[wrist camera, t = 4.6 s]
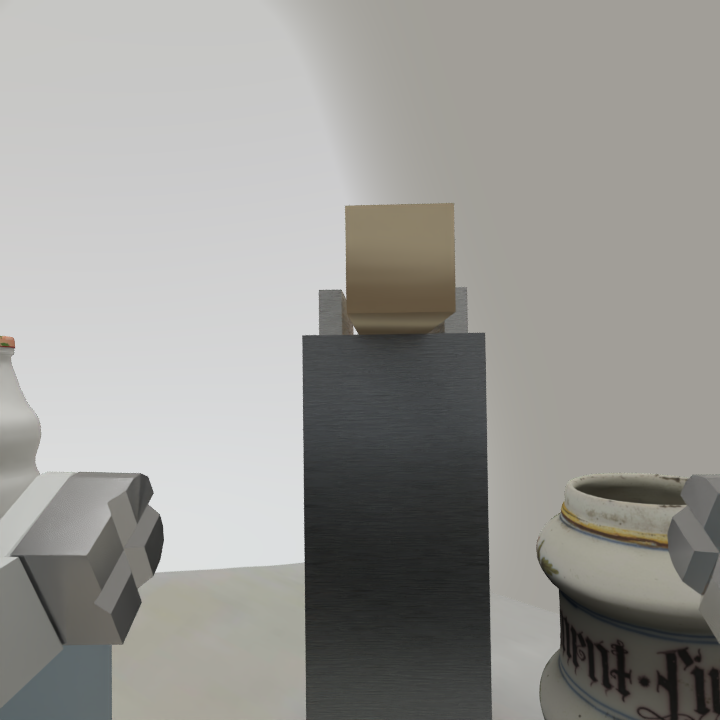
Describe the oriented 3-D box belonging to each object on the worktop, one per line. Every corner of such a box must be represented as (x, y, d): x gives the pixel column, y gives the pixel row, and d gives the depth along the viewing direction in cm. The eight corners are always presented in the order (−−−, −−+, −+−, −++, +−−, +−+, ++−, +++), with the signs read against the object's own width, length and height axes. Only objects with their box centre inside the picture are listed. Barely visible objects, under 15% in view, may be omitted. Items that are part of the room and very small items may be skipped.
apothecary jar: (502, 759, 33) (497, 470, 33) (664, 727, 36) (657, 460, 36) (650, 975, 21) (639, 524, 21) (874, 902, 24) (861, 504, 24)
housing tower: (495, 942, 22) (484, 287, 23) (308, 938, 23) (302, 290, 23) (455, 742, 34) (448, 315, 35) (333, 741, 35) (328, 317, 35)
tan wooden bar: (455, 311, 14) (454, 203, 14) (346, 313, 14) (345, 206, 15) (409, 347, 36) (409, 304, 36) (366, 347, 36) (366, 304, 37)
